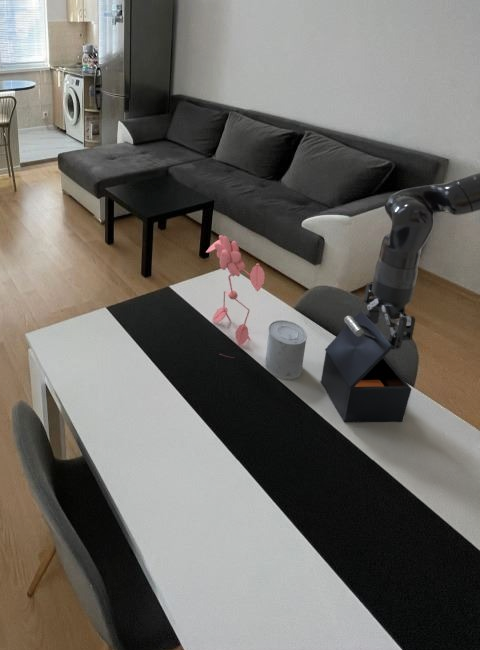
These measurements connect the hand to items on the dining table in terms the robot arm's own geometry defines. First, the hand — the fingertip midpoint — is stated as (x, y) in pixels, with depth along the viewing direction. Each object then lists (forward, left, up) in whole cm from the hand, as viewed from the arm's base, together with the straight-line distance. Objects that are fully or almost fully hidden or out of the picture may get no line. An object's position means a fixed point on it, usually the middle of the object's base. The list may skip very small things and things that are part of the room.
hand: (382, 335), depth 102 cm
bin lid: (+5, 0, -4) cm, 6 cm away
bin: (+2, 0, -21) cm, 21 cm away
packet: (0, 0, -20) cm, 20 cm away
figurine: (+30, -25, -21) cm, 45 cm away
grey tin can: (+16, -12, -21) cm, 29 cm away
